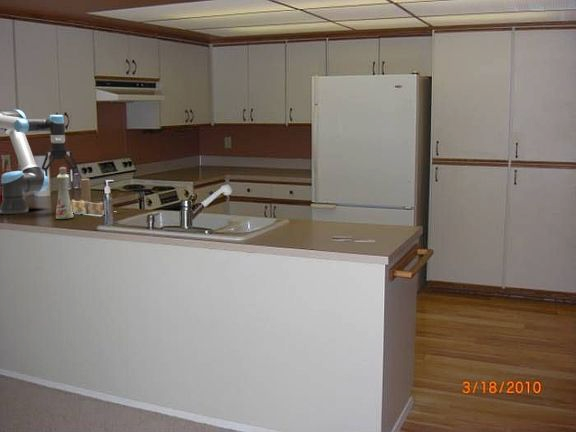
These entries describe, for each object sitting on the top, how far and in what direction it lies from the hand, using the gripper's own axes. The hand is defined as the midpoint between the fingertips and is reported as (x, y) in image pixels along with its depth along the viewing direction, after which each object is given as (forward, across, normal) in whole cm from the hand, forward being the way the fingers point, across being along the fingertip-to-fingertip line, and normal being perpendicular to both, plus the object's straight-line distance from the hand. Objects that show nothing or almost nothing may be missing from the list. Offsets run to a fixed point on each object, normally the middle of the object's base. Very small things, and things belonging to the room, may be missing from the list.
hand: (60, 181), depth 390 cm
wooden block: (+19, +12, +16) cm, 27 cm away
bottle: (+19, +1, -20) cm, 27 cm away
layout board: (+18, +18, -5) cm, 26 cm away
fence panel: (+18, +9, -2) cm, 20 cm away
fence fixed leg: (+18, +17, -13) cm, 28 cm away
